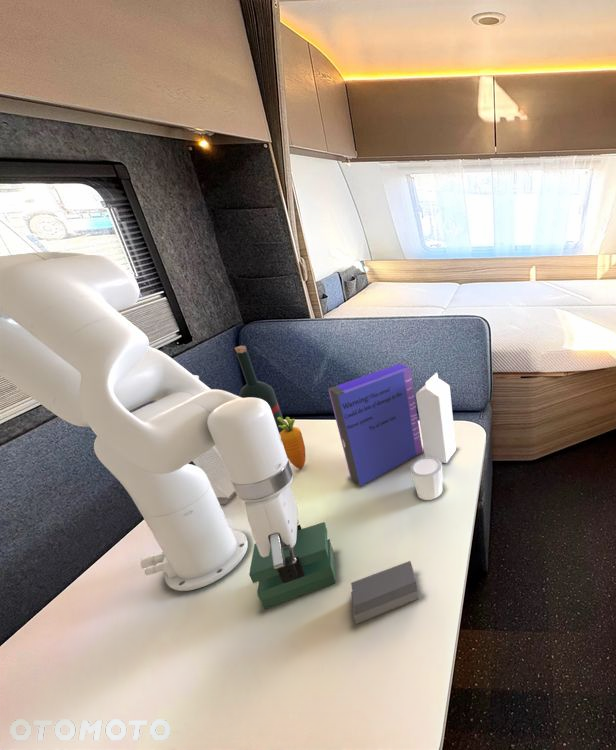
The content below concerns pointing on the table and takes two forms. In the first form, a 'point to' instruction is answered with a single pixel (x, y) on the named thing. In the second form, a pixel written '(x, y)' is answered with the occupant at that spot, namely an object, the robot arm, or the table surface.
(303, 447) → the carrot
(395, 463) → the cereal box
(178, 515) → the robot arm
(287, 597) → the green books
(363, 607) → the grey books
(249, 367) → the wine bottle
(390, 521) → the table surface
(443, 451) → the milk
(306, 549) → the green flat block
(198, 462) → the skyscraper
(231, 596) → the table surface
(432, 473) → the white cylinder
